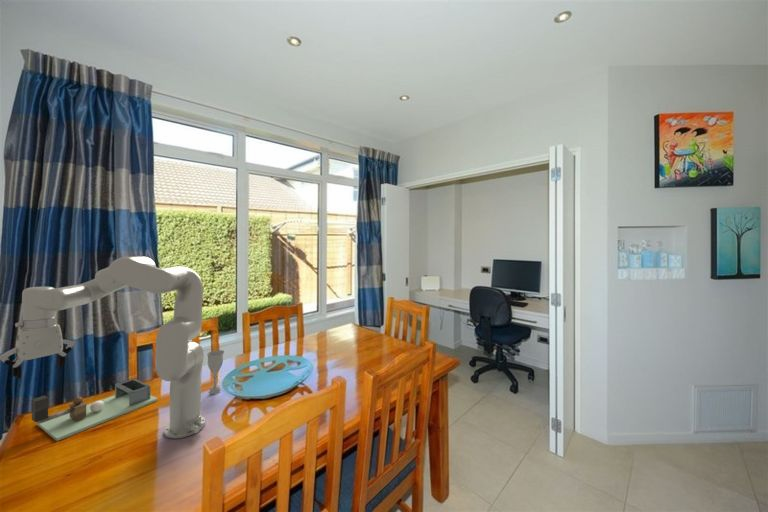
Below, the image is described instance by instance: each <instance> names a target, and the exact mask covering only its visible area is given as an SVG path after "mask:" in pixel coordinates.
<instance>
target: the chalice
mask: <svg viewBox="0 0 768 512" xmlns="http://www.w3.org/2000/svg"><path fill="white" fill-rule="evenodd" d="M224 353H225V351H224V350H222V349H215V350H211V351H209V352H207V353H206V356H207V367H208V369H209V370H210V372H211V374H213V380H212V382H213V385H212V386H211V387H210V389H209V391H208V394H209V395H217V394H219V393H220V391H222V389H221V385H218V384H217V382H218V380H217V378H218V376H217V374H218V373H219V371H220V370H221V369H222V366H223V363H224ZM216 393H217V394H216Z"/></svg>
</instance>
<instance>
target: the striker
mask: <svg viewBox="0 0 768 512" xmlns="http://www.w3.org/2000/svg"><path fill="white" fill-rule="evenodd" d="M86 405H87V403H85V402H84V398H83V397H82V396H76V397H74V399H73V400H72V403H70V404H69V408H67V409H65V410H61V411H58V412H55V413H52V414H50V415H49V397H48V396H47V395H45V394H44V395H41V396H39V397H35V398H31V420H32V421H33V422H34V423H36V424H37V423H38V424H40V423H43V422H46V421H49V420H52V419H55V418H57V417H60V416H63V415H66V414H69V413H70V418H72V419H73V420H74V421H77V420H80V419H82V418H85V417H86Z"/></svg>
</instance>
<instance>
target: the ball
mask: <svg viewBox="0 0 768 512" xmlns="http://www.w3.org/2000/svg"><path fill="white" fill-rule="evenodd" d="M91 403H92V404H91ZM91 403H90V404H91V406H90V410H91V411H93V412H98V411H100V410H101V409H102V408H103V407H104V402H103V401H99V400H96V401H94V402H91Z"/></svg>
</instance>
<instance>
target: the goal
mask: <svg viewBox="0 0 768 512" xmlns="http://www.w3.org/2000/svg"><path fill="white" fill-rule="evenodd" d="M127 394H129V406H132V405H135V404H137V403H140V402H142V401H145V400H148V399H150V395H151V384H147V383H145V382H143V381H141V380H139V379H136V378H132V379H129V380H126V381H123V382H120V383H119V382H116V383H115V384H114V395H115V398H118V397H121V396H124V395H127Z"/></svg>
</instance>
